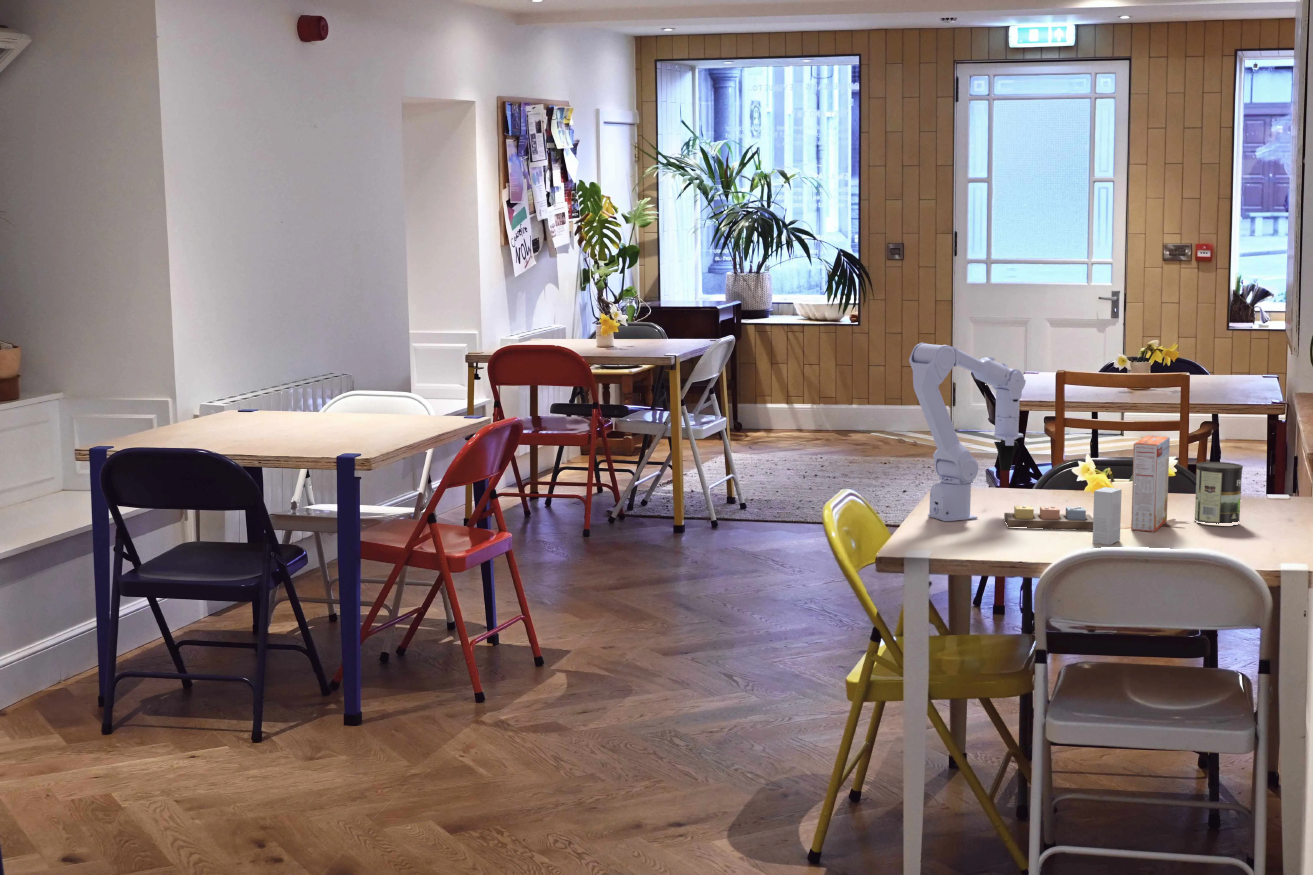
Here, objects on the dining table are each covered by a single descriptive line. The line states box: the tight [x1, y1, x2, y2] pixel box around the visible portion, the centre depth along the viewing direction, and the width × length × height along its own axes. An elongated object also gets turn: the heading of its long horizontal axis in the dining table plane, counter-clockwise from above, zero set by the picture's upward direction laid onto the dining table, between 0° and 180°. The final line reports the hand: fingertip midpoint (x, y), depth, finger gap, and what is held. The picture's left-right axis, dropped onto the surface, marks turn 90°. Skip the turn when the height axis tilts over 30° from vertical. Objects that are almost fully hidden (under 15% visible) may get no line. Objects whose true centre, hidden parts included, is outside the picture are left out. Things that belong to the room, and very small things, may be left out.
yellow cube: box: [1013, 505, 1035, 519], centre depth 332 cm, size 4×4×4 cm
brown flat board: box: [1003, 512, 1093, 531], centre depth 332 cm, size 20×9×2 cm, turn 82°
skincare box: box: [1092, 486, 1122, 546], centre depth 313 cm, size 6×4×12 cm
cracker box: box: [1130, 435, 1171, 533], centre depth 329 cm, size 14×6×21 cm, turn 149°
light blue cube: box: [1065, 505, 1087, 520], centre depth 331 cm, size 4×4×4 cm
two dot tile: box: [1039, 505, 1061, 519], centre depth 331 cm, size 4×4×4 cm
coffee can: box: [1194, 461, 1244, 524], centre depth 334 cm, size 10×10×14 cm
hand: (1005, 470), depth 348 cm, fingers closed
